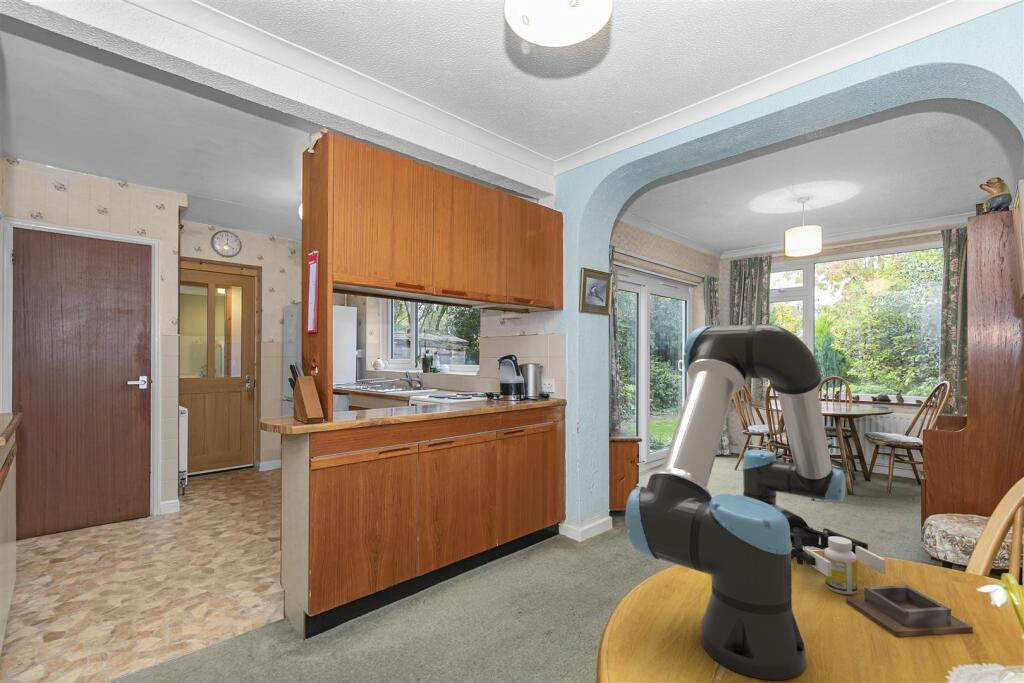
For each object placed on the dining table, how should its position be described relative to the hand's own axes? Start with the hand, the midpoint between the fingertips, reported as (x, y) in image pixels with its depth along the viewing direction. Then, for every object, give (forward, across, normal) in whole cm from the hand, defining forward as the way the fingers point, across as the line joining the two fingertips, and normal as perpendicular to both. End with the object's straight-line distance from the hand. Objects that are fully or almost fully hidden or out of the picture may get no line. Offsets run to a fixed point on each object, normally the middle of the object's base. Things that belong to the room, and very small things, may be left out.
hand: (856, 568), depth 94 cm
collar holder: (+6, -4, -6) cm, 10 cm away
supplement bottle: (-4, 0, -6) cm, 7 cm away
